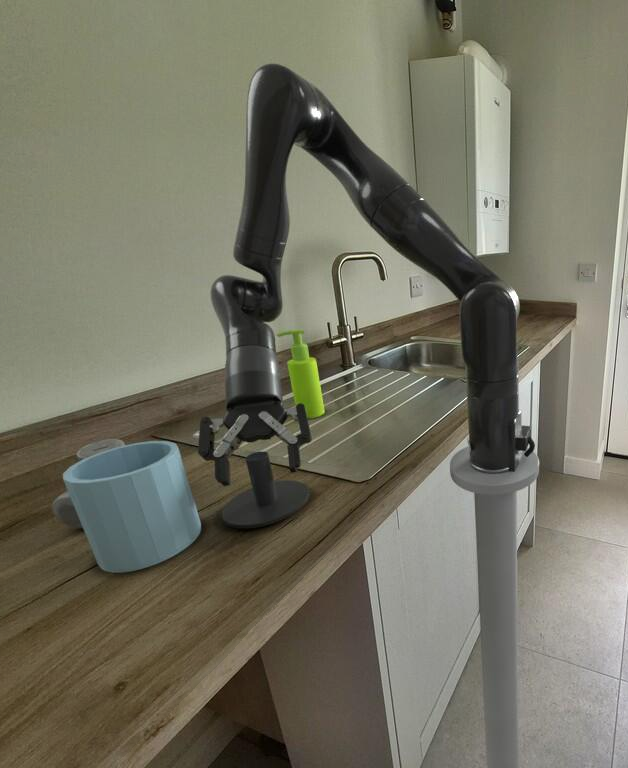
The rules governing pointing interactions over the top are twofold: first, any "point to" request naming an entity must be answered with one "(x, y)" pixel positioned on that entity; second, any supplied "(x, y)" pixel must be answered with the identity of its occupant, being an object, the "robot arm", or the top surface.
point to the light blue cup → (134, 504)
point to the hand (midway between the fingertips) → (260, 477)
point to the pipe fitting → (63, 503)
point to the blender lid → (264, 497)
